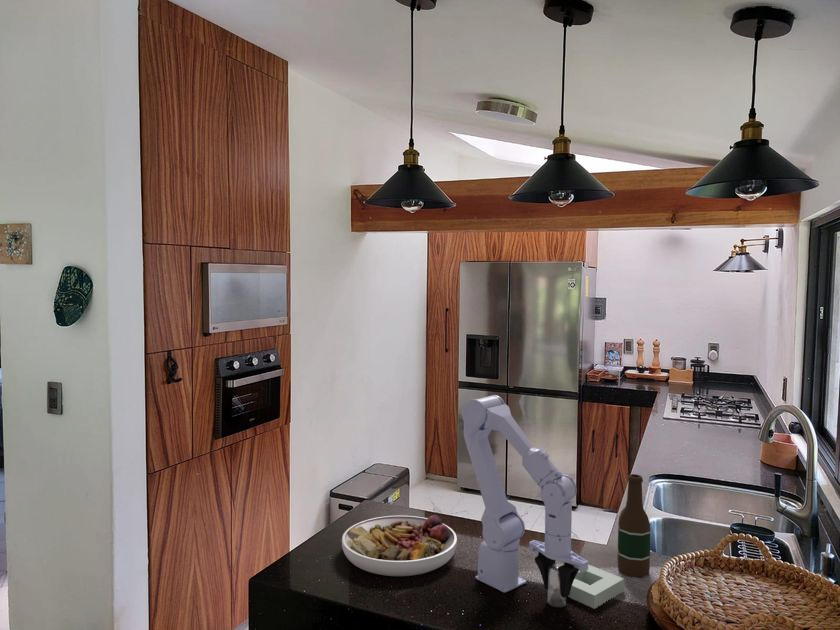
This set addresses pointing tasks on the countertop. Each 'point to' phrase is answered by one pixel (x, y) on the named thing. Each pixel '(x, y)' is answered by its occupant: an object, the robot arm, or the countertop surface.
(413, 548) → the bowl
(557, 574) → the steel peg
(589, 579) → the hole block
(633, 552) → the beer bottle
